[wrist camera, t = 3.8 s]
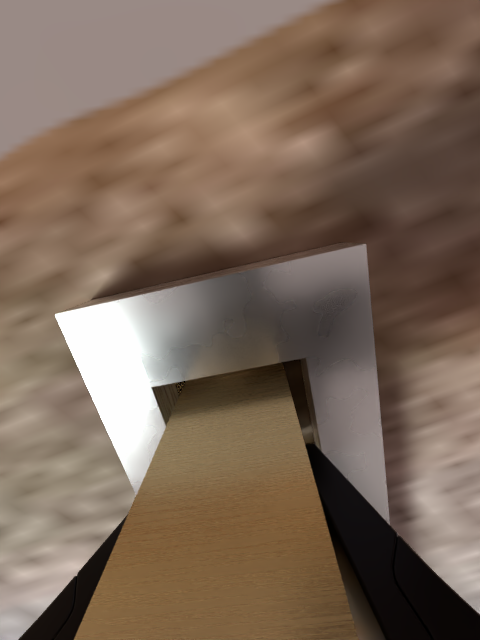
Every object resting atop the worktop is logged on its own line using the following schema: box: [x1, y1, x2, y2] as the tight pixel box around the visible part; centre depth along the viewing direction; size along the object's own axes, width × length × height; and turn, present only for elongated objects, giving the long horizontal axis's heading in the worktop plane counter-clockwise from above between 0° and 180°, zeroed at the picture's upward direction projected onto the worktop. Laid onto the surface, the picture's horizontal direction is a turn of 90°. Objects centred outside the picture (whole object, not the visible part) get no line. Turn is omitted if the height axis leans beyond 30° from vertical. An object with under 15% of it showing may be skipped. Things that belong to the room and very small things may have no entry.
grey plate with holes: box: [55, 242, 390, 640], centre depth 12 cm, size 10×22×2 cm, turn 13°
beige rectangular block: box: [74, 362, 358, 640], centre depth 7 cm, size 4×4×9 cm
